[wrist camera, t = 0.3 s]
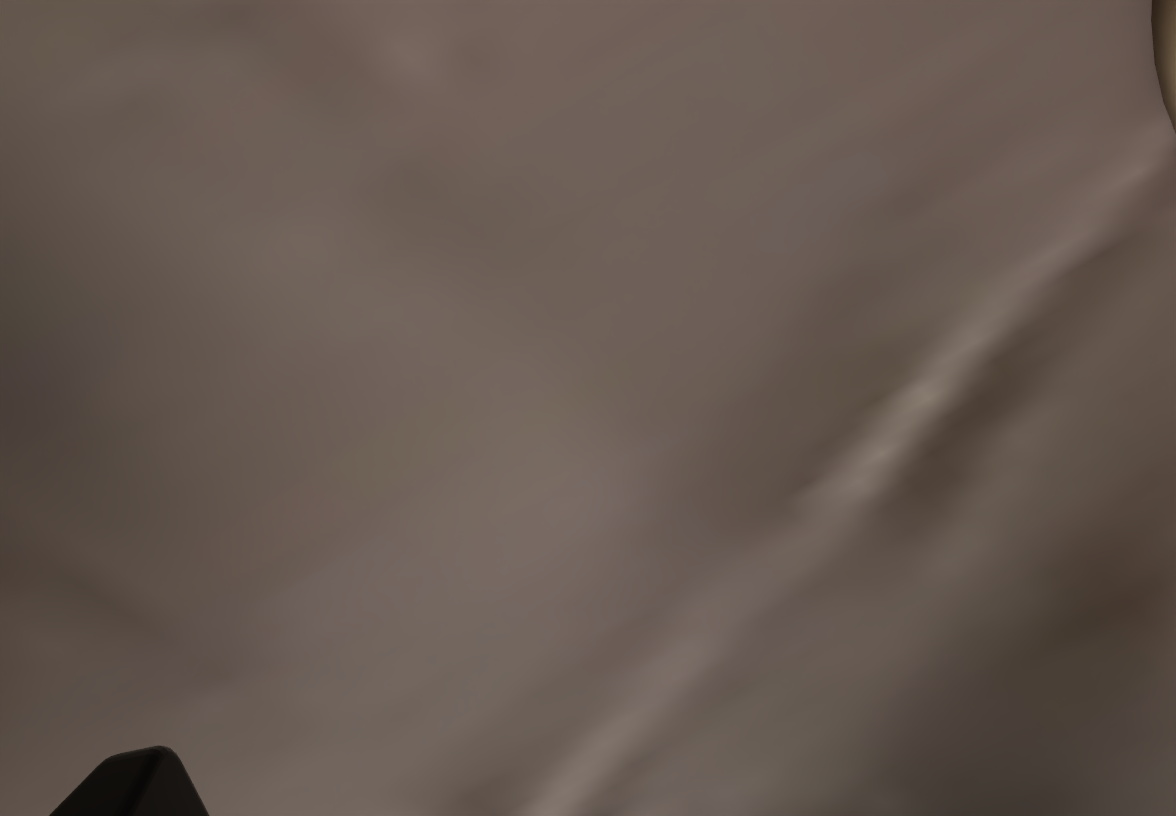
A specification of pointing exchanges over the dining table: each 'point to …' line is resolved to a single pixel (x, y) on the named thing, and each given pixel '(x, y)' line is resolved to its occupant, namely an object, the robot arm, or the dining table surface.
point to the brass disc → (1165, 51)
